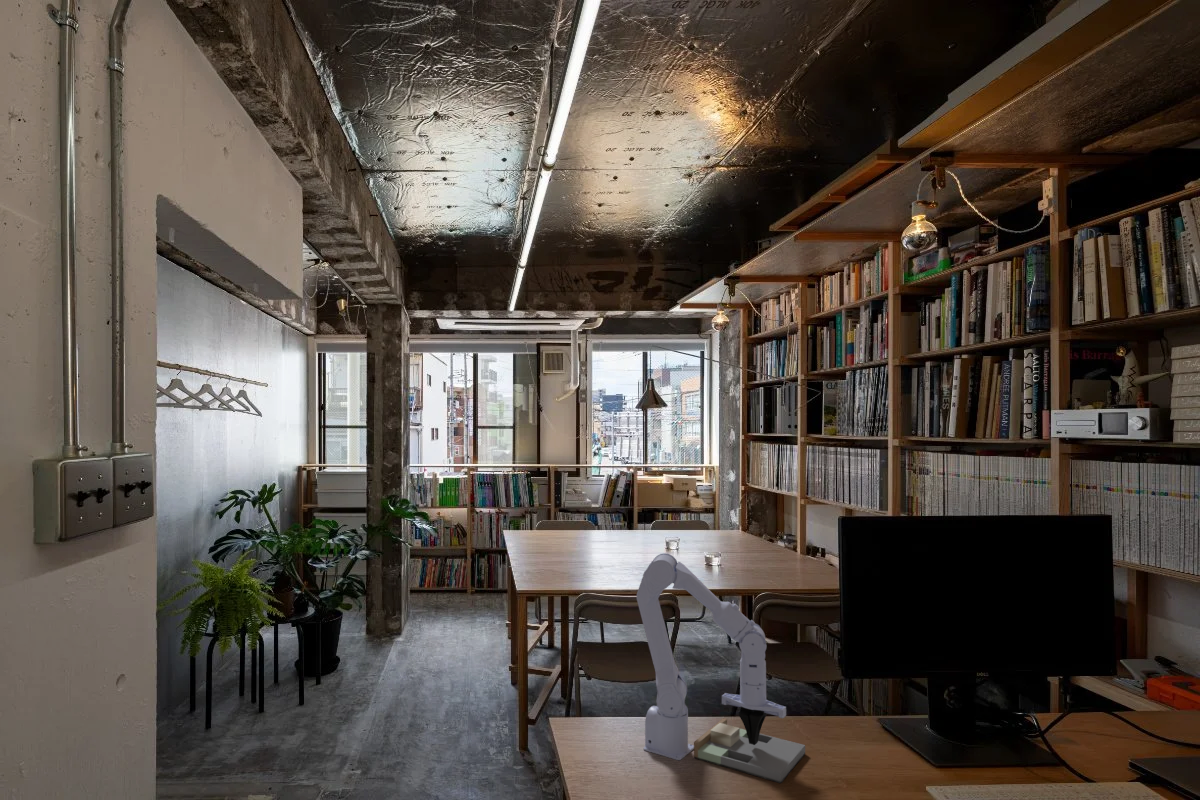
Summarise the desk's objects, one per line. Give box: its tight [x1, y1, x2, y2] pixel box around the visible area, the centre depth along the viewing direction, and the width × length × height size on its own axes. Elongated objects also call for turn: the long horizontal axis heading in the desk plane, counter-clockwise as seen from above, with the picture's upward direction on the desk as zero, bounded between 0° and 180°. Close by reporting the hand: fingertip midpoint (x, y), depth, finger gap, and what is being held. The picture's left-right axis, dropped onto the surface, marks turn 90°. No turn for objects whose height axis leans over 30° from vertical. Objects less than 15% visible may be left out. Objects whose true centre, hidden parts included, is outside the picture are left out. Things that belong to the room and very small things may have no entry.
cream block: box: [710, 723, 741, 747], centre depth 161 cm, size 5×5×2 cm
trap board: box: [693, 717, 806, 784], centre depth 158 cm, size 20×16×4 cm
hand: (753, 742), depth 157 cm, fingers closed
